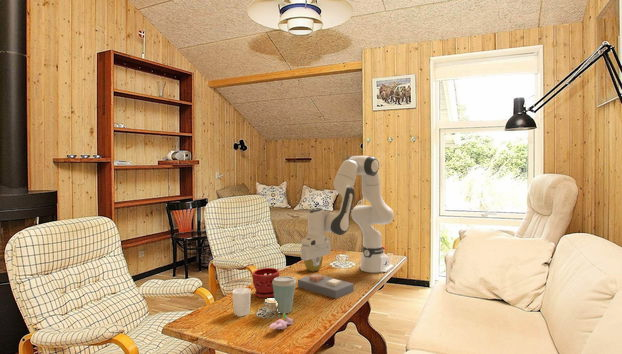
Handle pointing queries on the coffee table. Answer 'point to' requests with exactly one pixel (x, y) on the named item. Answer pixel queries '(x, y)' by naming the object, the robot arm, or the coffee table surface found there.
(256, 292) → the plant pot
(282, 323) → the pink flower
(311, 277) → the terracotta key
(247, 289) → the white cup
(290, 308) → the disposable coffee cup
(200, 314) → the coffee table surface
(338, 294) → the key panel
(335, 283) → the cream key
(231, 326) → the coffee table surface
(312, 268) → the flower pot
